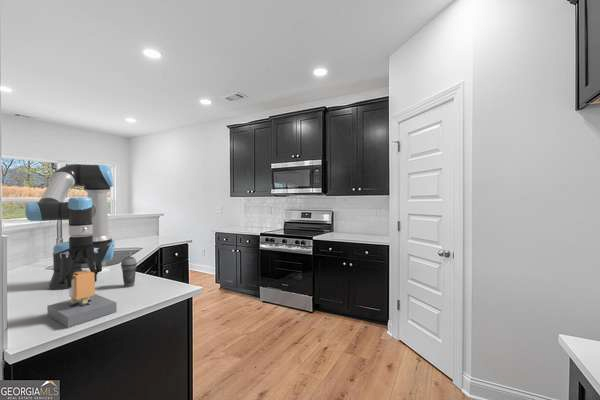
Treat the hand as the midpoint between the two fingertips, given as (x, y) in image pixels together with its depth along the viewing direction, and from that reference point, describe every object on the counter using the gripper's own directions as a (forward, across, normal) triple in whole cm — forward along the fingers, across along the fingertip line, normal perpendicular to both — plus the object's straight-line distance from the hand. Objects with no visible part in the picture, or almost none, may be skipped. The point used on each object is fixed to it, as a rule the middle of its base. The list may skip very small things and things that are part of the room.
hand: (82, 292), depth 111 cm
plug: (+4, 0, 0) cm, 4 cm away
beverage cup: (+9, +28, +20) cm, 35 cm away
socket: (+9, 0, 0) cm, 9 cm away
